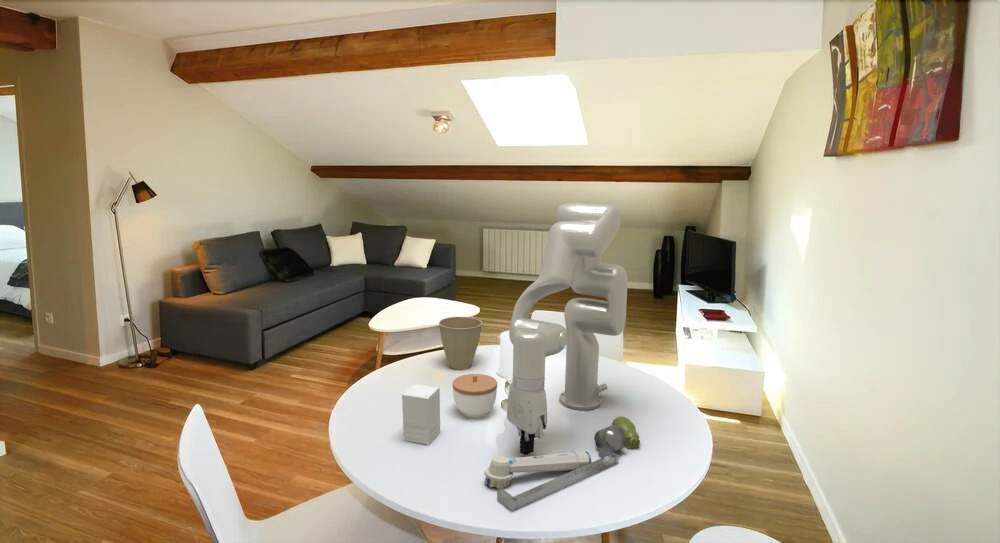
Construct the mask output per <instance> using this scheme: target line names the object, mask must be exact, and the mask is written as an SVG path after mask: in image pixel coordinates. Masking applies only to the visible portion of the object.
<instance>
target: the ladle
mask: <svg viewBox="0 0 1000 543" xmlns="http://www.w3.org/2000/svg"><path fill="white" fill-rule="evenodd" d="M593 439H594V444H595V445H594V446H595V448H597V450H598V457H599V459H596V460H594V461H592V463H589V464H587V465H585V466H583V467H580V468H578V469H576V470H570V471H569V472H567V473H564V474H562V475H559V476H558V477H556V478H553V479H550V480H549V481H545V482H544V483H541V484H539V485H538V486H535V487H532V488H530V489H527V490H526V491H523V492H521V493H519V494H516V495H514V496H513V495H511V494H510V493H509V492H508V491H507V490H505V488H504V489H498V490H497V491H496V500H497V502H499V503H500V504H501V505H503V506H504V507H505V508H506V509H507V510H508V511H510V512H511V513H513V512H514V511H517V510H519V509H520V508H523V507H525V506H528V505H529V504H532V503H534V502H536V501H539V500H541V499H543V498H545V497H547V496H550V495H551V494H554V493H557V492H559V491H561V490H562V489H565V488H567V487H569V486H572V485H573V484H576V483H578V482H580V481H583V480H585V479H587V478H588V477H589V478H590V477H591V476H593V475H595V474H598V473H600V472H601V471H604V470H606V469H608V468H611V467H612V466H613V467H614V466H616V465H617V464H619V459H620V458H619V457H620V456H619V454H617V453H616V452H618V451H621V450H623V449H625V448H626V447H625V446H626V443H627V439H626V435H625V433H624V431H623V430H622V429H621V428H620V427H619V426H617V425H612V424H611V425H610V426H607V427H605V428H602V429H600V430H597V431H596V432H595V434H594V438H593Z"/></svg>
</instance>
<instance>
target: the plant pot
mask: <svg viewBox="0 0 1000 543" xmlns="http://www.w3.org/2000/svg"><path fill="white" fill-rule="evenodd" d="M438 325H439V326H438V327H439V333H440V339H441V343H442V348H443V351H444V355H445V358H446V360H447V363H448V366H449V367H450V368H451V369H453V370H460V371H461V370H466V369H469V368H470V367H471V365H472V363H473V361H474V358H475V355H476V352H477V349H478V346H479V342H480V338H481V337H480V336H481V332H482V326H483V321H482V320H480V319H479V318H476V317H470V316H450V317H449V316H448V317H446V318H442V319H440V320H439V321H438Z"/></svg>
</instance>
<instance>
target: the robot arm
mask: <svg viewBox="0 0 1000 543" xmlns="http://www.w3.org/2000/svg"><path fill="white" fill-rule="evenodd" d="M556 220H557V222H555V223H554V224H553V225H552V226H551V227H550V229H549V230H548V231H549V232H548V237H547V241H546V244H545V249H544V254H543V258H542V262H541V266H540V271H539V274H538V277H537V279H536V280H535V281H534V282H533V283H531V284H530V285H529V286H528V287H526V289H525V290H524V291H523V292H522V294H521V295H520V296H519V298H518V299H517V301H516V303H515V304H514V305H515V306H514V308H513V312H512V316H511V320H510V324H509V325H510V326H509V330H508V332H509V334H508V336H509V340H510V343H511V344H512V346H513V347H512V348H513V349H512V382H511V383H510V386H509V390H508V396H507V406H506V407H507V408H506V417H507V418H506V420H507V421H508V422H509V423H511V424H512V425H514V426H516V429H517V435H518V437H519V454H521V455H523V457H526V456H528V455H530V454H532V453H534V452H535V439H536V438H537V439H542V438H545V430H547V424H548V403H547V394H546V389H545V380H546V378H545V376H546V375H545V374H546V357H550V356H554V355H557V354H559V353H561V352H562V351H563V350H564V349H566V352H565V374H564V375H565V377H564V379H565V380H564V381H565V382H564V391H562V392H560V394H559V397H558V401H559V402H560V403H561V404H562V405H563V406H564V407H567V408H569V409H572V410H573V409H574V410H578V411H579V410H580V411H588V410H593V409H597V408H599V407H600V406H601V405H602V401H603V399H602V396H600V393H601V392H603V391H607V390H608V384H607V383H603V384H599V383H598V379H599V377H598V376H599V359H600V358H599V355H600V346H599V345H600V344H599V342H598V339H597V337H596V335H595V334H597V335H605V336H612V337H615V336H616V337H617V336H619V335H621V334H622V333H623V331H624V329H625V326H626V319H627V318H626V317H627V301H628V274H627V272H626V270H625V269H624V267H622V266H620V265H618V264H615V263H614V264H613V263H603V261H602V254H604V252H605V251H606V250H607V249H608V247H609V246H610V244H611V242H612V240H613V239H614V238H615V237H616V236H617V234H618V231H619V229H620V227H621V220H622V216H621V212H620V210H619V208H618V207H617V206H615V205H613V204H605V203H603V204H602V203H588V202H587V203H586V202H568V203H563V204H561V205H559V206H558V208H557V211H556ZM569 288H571V290H572V291H574V293H576V294H580V295H583V296H584V295H585V296H589V297H590V296H591V297H600V298H605V299H606V300H601V299H600V300H599V299H594V298H587V297H574V298H572V299H570V300H568V301H567V303H566V304H565V307H564V314H563V316H564V321H565V322H564V323H565V324H564V325H565V327H564V326H563V325H561V324H559V323H556V322H552V321H551V322H549V321H544V320H539V319H533V318H529V316H530V312H532V309H533V307H534V306H535V304H536V303H537V302H538V301H540V300H541V299H543V298H545V297H547V296H549V295H552V294H555V293H559V292H561V291H564V290H567V289H569ZM565 347H566V348H565Z"/></svg>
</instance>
